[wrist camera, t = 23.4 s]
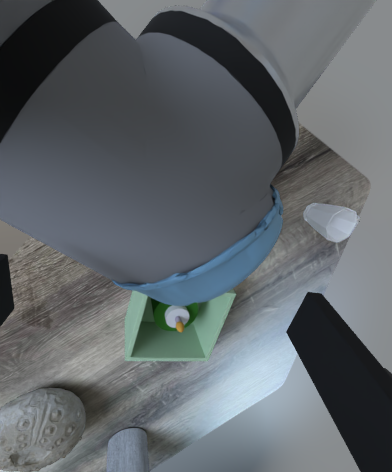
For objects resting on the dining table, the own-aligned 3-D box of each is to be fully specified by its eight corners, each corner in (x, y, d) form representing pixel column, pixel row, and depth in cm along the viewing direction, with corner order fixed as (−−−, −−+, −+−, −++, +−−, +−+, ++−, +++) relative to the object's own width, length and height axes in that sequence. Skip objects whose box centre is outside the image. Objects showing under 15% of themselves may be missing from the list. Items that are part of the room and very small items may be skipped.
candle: (166, 318, 51) (175, 357, 43) (142, 294, 48) (146, 332, 39) (198, 295, 51) (214, 330, 42) (176, 270, 47) (188, 302, 39)
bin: (142, 253, 45) (146, 283, 36) (217, 265, 50) (236, 293, 42) (124, 320, 50) (124, 361, 41) (194, 324, 55) (207, 361, 47)
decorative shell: (82, 428, 59) (75, 481, 50) (-7, 436, 53) (-33, 498, 44) (94, 374, 53) (88, 423, 44) (-4, 377, 47) (-34, 434, 38)
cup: (300, 197, 49) (329, 209, 42) (341, 193, 51) (376, 203, 44) (295, 229, 52) (322, 246, 45) (334, 224, 54) (366, 238, 47)
